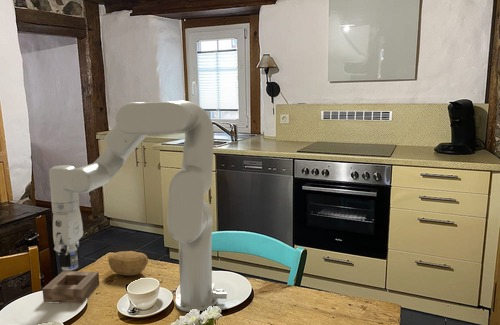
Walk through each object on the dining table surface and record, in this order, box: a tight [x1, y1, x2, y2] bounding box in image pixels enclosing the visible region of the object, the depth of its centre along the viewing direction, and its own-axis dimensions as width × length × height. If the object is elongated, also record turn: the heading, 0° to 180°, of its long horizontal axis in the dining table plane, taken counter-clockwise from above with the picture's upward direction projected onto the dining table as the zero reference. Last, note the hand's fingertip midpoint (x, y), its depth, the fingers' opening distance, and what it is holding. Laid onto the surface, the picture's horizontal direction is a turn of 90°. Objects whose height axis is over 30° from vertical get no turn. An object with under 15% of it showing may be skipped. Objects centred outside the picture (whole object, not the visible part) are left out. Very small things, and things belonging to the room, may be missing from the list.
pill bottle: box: [61, 242, 79, 271], centre depth 123 cm, size 5×5×8 cm
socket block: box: [42, 270, 100, 304], centre depth 125 cm, size 12×12×4 cm
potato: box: [107, 250, 149, 277], centre depth 138 cm, size 10×14×8 cm
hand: (69, 262), depth 124 cm, fingers closed on pill bottle, 4 cm apart
